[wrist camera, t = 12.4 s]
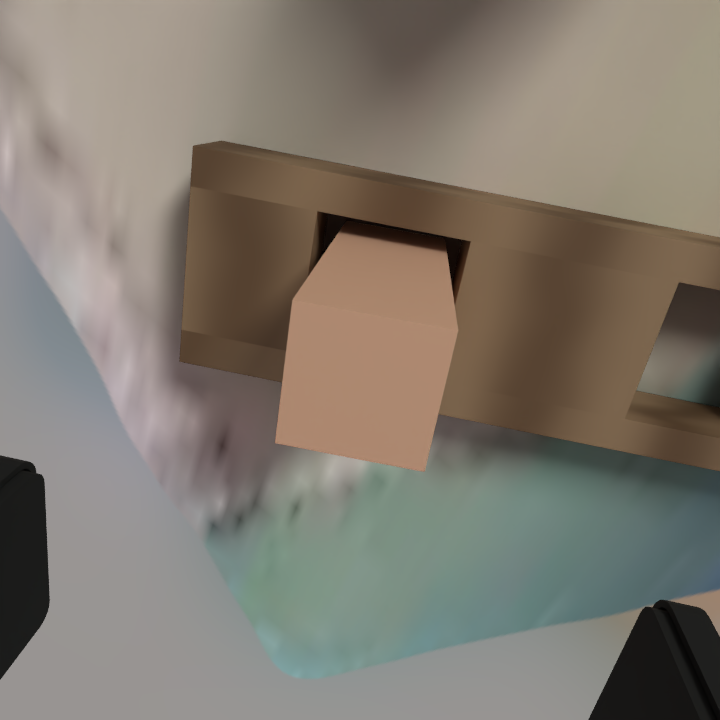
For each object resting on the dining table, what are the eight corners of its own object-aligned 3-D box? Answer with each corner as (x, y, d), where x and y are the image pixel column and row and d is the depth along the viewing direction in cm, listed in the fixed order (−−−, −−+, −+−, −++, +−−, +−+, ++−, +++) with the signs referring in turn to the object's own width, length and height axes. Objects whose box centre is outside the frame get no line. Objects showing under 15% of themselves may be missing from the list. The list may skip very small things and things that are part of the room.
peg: (444, 238, 27) (458, 330, 16) (424, 330, 29) (424, 471, 18) (346, 220, 27) (292, 299, 16) (332, 313, 29) (274, 443, 18)
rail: (922, 276, 26) (993, 301, 22) (820, 458, 29) (869, 501, 26) (221, 140, 26) (192, 145, 23) (206, 333, 30) (179, 361, 27)
